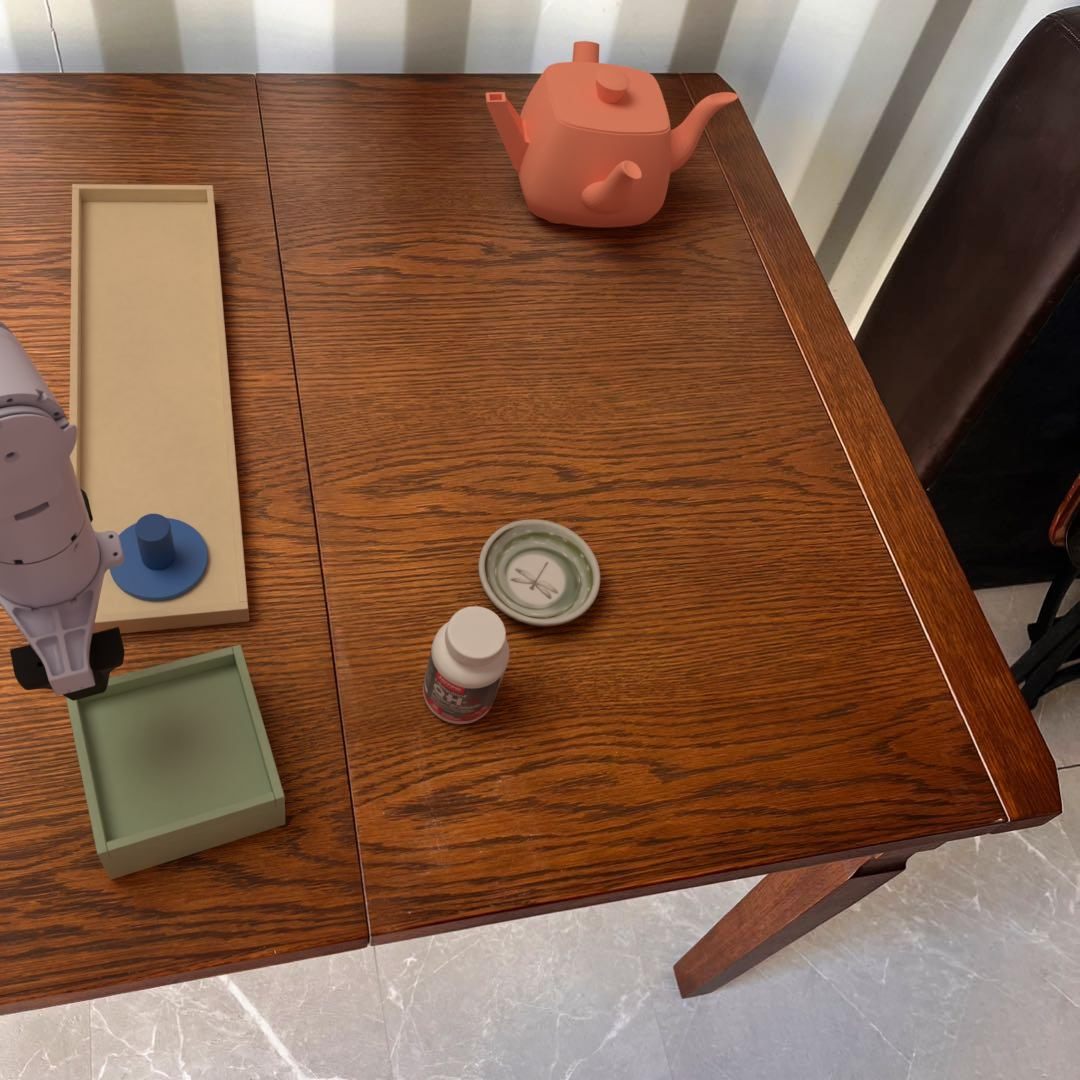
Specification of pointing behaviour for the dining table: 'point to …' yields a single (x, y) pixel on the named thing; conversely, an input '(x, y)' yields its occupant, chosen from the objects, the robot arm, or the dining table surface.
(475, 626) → the pill bottle
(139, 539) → the blue lid
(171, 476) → the tray
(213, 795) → the green square tray
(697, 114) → the teapot
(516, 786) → the dining table surface
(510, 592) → the saucer
